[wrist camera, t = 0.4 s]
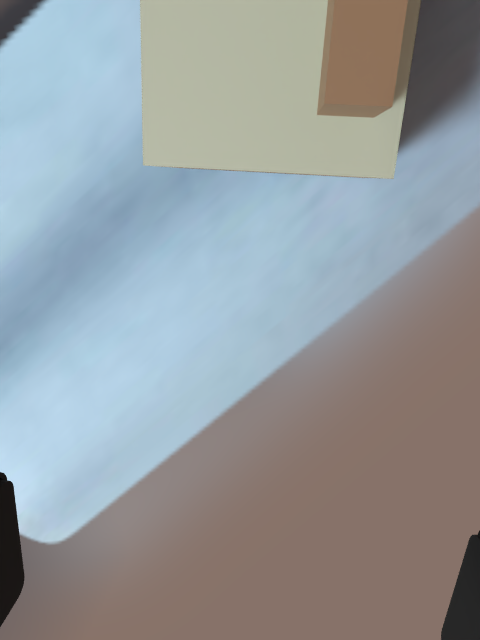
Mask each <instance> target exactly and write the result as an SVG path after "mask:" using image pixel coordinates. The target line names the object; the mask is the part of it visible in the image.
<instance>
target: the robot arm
mask: <svg viewBox="0 0 480 640" xmlns="http://www.w3.org/2000/svg"><path fill="white" fill-rule="evenodd" d="M23 584H24V569H23V561H22V553H21V545H20V536H19V528H18V520H17V511H16V503H15V495H14V487H13V483H12V482H11V481H7V477H6V475H5V474H4V473H1V472H0V627H1V625H2V623H3V622H4V620H5V619H6V617H7V615H8V614H9V612H10V610H11V609H12V607H13V605H14V604H15V602H16V601H17V599H18V597H19V595H20V593H21V591H22V588H23ZM441 640H480V531H479V533H478V535H472V536H471V537H470V539H469V542H468V545H467V549H466V552H465V556H464V559H463V562H462V565H461V568H460V572H459V575H458V579H457V582H456V585H455V588H454V592H453V595H452V598H451V602H450V605H449V608H448V611H447V615H446V618H445V621H444V624H443V628H442V632H441Z"/></svg>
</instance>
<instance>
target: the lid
mask: <svg viewBox="0 0 480 640" xmlns="http://www.w3.org/2000/svg"><path fill="white" fill-rule="evenodd" d="M420 4H421V0H140V16H141V72H142V128H143V165H146V166H164V167H183V168H201V169H220V170H239V171H257V172H276V173H294V174H313V175H332V176H350V177H369V178H387V179H394V172H395V166H396V159H397V153H398V146H399V140H400V133H401V127H402V120H403V114H404V107H405V101H406V94H407V88H408V82H409V75H410V69H411V62H412V56H413V49H414V43H415V36H416V30H417V23H418V17H419V10H420Z"/></svg>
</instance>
